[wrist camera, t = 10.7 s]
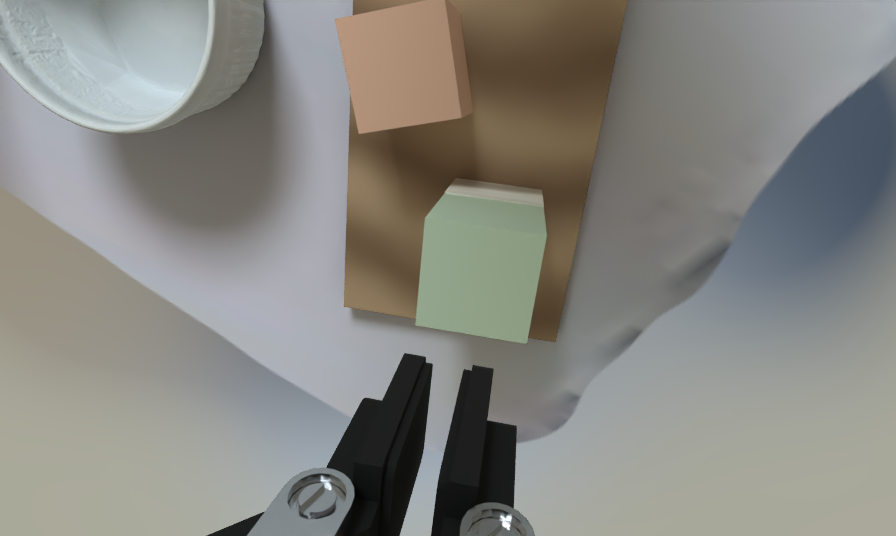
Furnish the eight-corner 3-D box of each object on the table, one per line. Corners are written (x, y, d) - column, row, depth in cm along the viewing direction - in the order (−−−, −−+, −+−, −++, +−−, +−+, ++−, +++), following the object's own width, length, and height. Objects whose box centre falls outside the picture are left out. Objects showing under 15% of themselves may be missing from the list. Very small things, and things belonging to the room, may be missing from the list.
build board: (361, -35, 26) (324, -62, 22) (626, -11, 25) (649, -35, 20) (350, 299, 34) (320, 335, 29) (554, 333, 32) (558, 376, 27)
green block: (444, 193, 25) (424, 217, 20) (543, 207, 24) (546, 235, 20) (435, 283, 27) (415, 325, 22) (527, 298, 26) (526, 344, 21)
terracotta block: (369, 30, 26) (334, 19, 22) (459, 12, 25) (444, -4, 21) (387, 125, 28) (358, 133, 23) (473, 112, 27) (461, 117, 22)
